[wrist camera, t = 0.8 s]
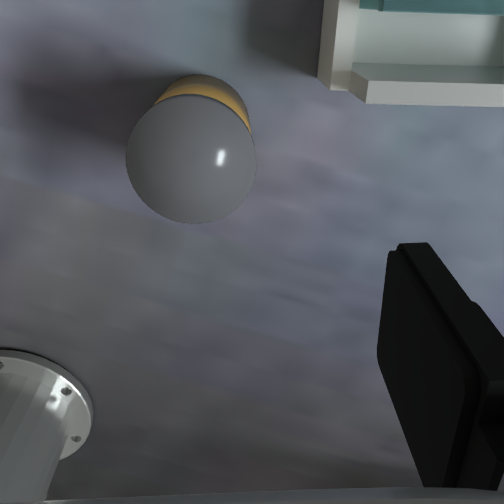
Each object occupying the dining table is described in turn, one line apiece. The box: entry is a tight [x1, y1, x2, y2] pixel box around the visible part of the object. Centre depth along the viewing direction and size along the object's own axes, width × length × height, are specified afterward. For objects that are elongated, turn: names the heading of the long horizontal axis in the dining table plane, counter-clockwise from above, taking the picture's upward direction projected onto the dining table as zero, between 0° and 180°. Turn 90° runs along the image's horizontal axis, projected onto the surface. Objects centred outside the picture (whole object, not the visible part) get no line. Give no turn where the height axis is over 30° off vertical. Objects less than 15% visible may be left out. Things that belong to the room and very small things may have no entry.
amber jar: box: [126, 75, 257, 224], centre depth 26 cm, size 6×6×8 cm
